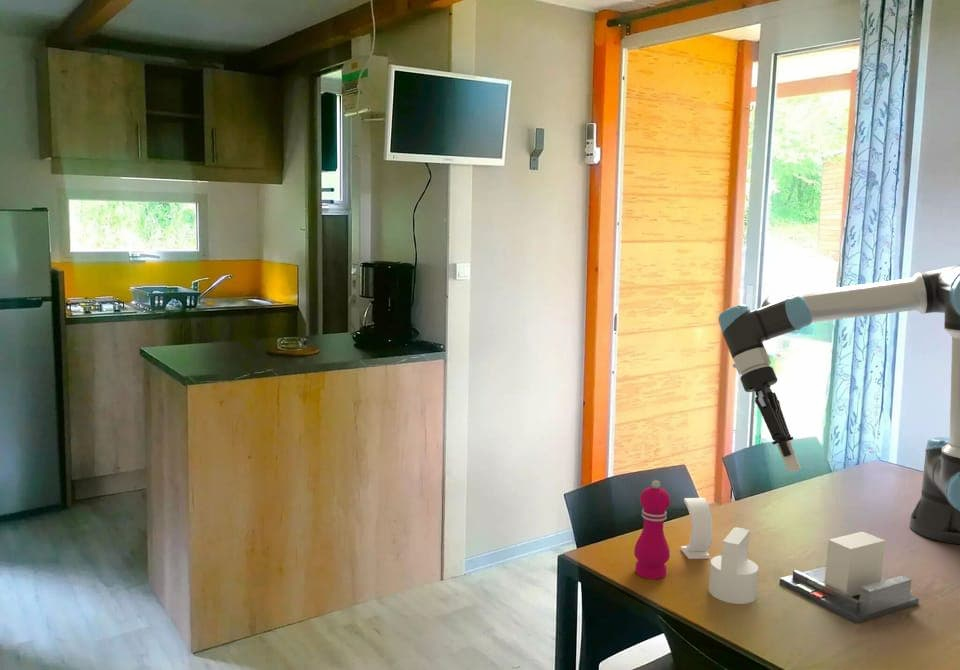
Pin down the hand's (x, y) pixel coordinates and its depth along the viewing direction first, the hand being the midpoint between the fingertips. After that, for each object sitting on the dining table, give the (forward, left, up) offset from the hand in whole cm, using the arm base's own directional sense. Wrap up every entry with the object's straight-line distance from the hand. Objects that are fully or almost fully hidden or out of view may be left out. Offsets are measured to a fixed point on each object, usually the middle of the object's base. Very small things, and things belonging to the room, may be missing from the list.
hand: (794, 470), depth 177 cm
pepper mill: (+35, -5, -19) cm, 40 cm away
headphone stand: (+20, -8, -19) cm, 29 cm away
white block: (+5, +20, -17) cm, 27 cm away
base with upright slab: (+26, +9, -19) cm, 34 cm away
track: (+5, +19, -19) cm, 27 cm away
